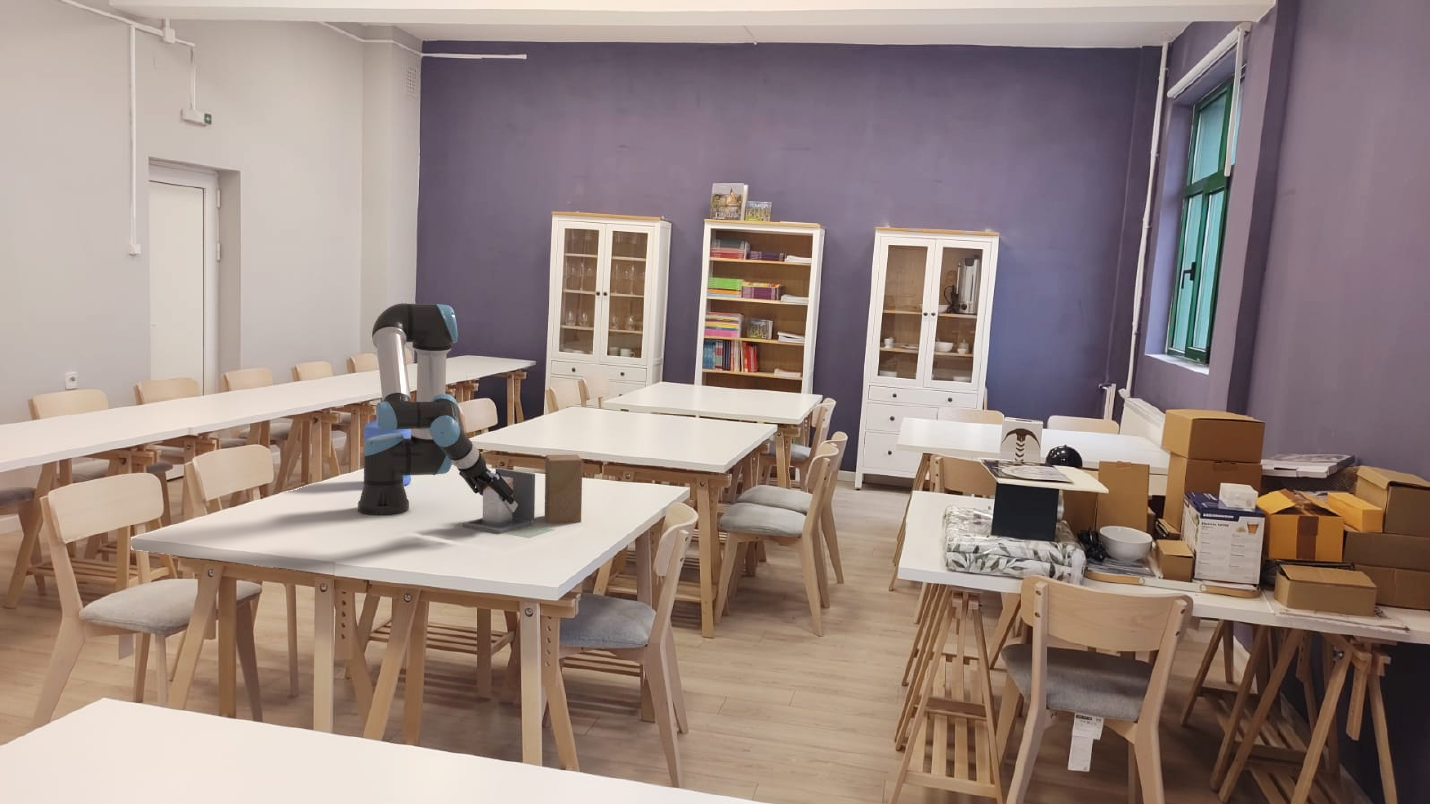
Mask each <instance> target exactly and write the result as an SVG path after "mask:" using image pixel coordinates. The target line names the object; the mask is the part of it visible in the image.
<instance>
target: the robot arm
mask: <svg viewBox="0 0 1430 804" xmlns="http://www.w3.org/2000/svg"><path fill="white" fill-rule="evenodd" d="M458 335H459V333H458V325H457V319H456V314H455V311H454V309H453V307H452V306H450V305H448V304H438V303H407V302H406V303H402V302H401V303H396V304H393V305H392V306H391V305H390V306H389V307H388V308H386V309H384V310H383V312H381V313H380V314H379V316H378V317H377V318H376V320H375V322H374V324H373V328H372V331H371V338H372V339H371V340H372V344H373V346H374V347H375V348H376V350H377V351H376V352H377V360H378V361H377V362H378V368H379V369H378V370H379V378H380V389H381V400H382V401H380V402H378V403H377V404H376V407H375V408H376V409H375V410H376V411H375V417H376V419H375V420H376V422H377V426H378V428H380V429H388V430H397V429H410V430H411V438H407V439H404V436H403V435H402V434H398V433H397V434H384V435H379V436H374V437H371V438H369V439H367V440H366V441H365V443H364V442H363V443H364V444H363V453H362V455H363V488H362V490H361V494H360V498H359V500H358V502H357V511H358V512H359V513H361V514H366V515H378V516H379V515H383V516H384V515H393V514H400V513H401V514H402V513H403V512H407V511H408V510H409V509H410V500H409V499H408V496H407V492H406V490H405V486H403V476H408V475H410V476H427V475H429V476H431V475H433V476H436V475H445V474H447V473H448V472H450V470H451V467H452V465H453V466H454V467H456V469H457V471H459V473H458V475H459V476H460V477H461V478H462V479H464V482H465V483H466V484H467V485H468V487H469V488H470V489H471V491H473V493H474V494H479V495H480V496H482V497H483V485H484V484H485V485H486V486H489V487H491V488H492V489H493V490H494V491H495V492H496V493H497V494H499V495H500V496H501V497H502V501H503V502H504V503H505V504H506V506H507V507H508V508H509V509H510V511H511V512H514V511H515V509H516V508H517V506H518V504H517V503H516V502H515V500H514V499H513V498H512V494H513V492H514V491H513V490H512V489H511V487H510V486H509V485H508V484H507V483H506V482H505V480H504V479H503V478H502V477H501V475H500V473H499V472H496V471H495V472H494V473H493V472H492V471H491V470H490V468H488V467H487V461H486V458H485V457H484V456H483V455H482V453H481V452H480V451H479V450H478V448H477V446H475V444H474V443H473V442H472V440H471V439H470V438H469V437H468V435H467V434H466V433H465V431H464V428H463V423H462V420H461V419H462V418H461V413H460V408H459V404H458V402H457V400H456V398H455V397H454V396H453V395H451V394H447V393H446V383H447V382H446V380H447V354H448V353H449V352H450V351H451V350H452V348H453V347H452V346H453V344H455V343H457V342H458V337H459V336H458ZM406 343H412V349H413V350H414V351H415V352H416V353H417V358H416V359H417V361H416V362H417V366H416V370H417V371H416V401H412V398H411V397H412V396H411V389H410V383H409V376H408V375H409V374H408V367H407V360H406V359H407V358H406V351H405V346H406Z"/></svg>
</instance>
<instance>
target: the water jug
mask: <svg viewBox="0 0 1430 804" xmlns="http://www.w3.org/2000/svg"><path fill="white" fill-rule="evenodd" d="M363 428H364V429H363V439H364V441H363V443H365V441H366V440H367V439H369V438H371V437H374V436H379V435H384V434H397V433H398V434H402V435H403V436H404V439H407V438H411V431H412V429H397V430H388V429H380V428H378V426H377V422H376V419H375V420H373V421H371V422H368V423H366V424H365V425H364V427H363ZM411 481H412V475H408V476H403V486H404V487H405V486H408V485H409V484H411Z"/></svg>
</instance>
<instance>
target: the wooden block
mask: <svg viewBox="0 0 1430 804" xmlns="http://www.w3.org/2000/svg"><path fill="white" fill-rule="evenodd" d="M544 465H545V468H544V470H545V471H544V479H545V480H544V518H545V520H546V522H547V524H570V523H571V524H573V523H574V524H575V523H577V524H578V523H582V506H583V505H582V502H583V501H582V498H583V459H582V458H581V457H580V456H579V455H578V454H546V455H545V464H544Z"/></svg>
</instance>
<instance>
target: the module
mask: <svg viewBox="0 0 1430 804" xmlns="http://www.w3.org/2000/svg"><path fill="white" fill-rule="evenodd" d="M501 477H502V478H503V479H504V480H505V482H506V483H507V484H508V485H509V486H510V487H511V489H512V490H513V478H509V477H503V476H501ZM512 498H513V494H512ZM482 518H483V526H486V527H492V528H497V529H500V528H504V527H507V526H510V525H512V512H511V511H510V509H509V508H508V507H507V506H506V504H505V503H504V502H503V501H502V497H501V496H500V495H499V494H497V493H496V492H495V491H494V490H493V489H492V488H491V487H489V486H486V485H485V484H484V485H483V496H482Z"/></svg>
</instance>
